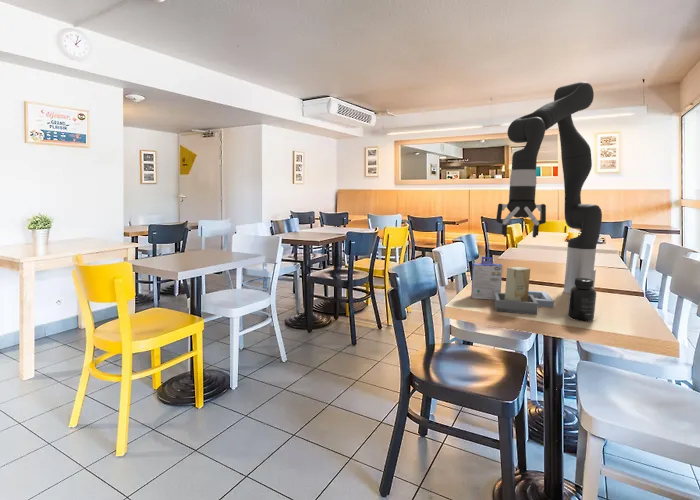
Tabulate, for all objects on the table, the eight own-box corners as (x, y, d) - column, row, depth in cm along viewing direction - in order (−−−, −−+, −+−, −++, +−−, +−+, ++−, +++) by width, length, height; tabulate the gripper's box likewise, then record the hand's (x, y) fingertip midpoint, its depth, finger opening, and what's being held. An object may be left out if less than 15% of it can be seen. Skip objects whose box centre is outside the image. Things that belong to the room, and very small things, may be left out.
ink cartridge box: (498, 296, 148) (501, 257, 146) (501, 300, 142) (503, 259, 140) (470, 295, 150) (472, 255, 148) (471, 298, 144) (473, 258, 142)
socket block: (546, 297, 148) (546, 291, 148) (553, 307, 134) (554, 301, 134) (507, 294, 151) (507, 289, 151) (511, 304, 138) (511, 298, 138)
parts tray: (531, 305, 137) (532, 295, 136) (537, 314, 126) (538, 303, 126) (493, 302, 140) (494, 292, 140) (495, 311, 130) (496, 300, 129)
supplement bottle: (562, 315, 126) (566, 276, 124) (584, 314, 127) (587, 276, 125) (577, 322, 119) (580, 281, 118) (599, 321, 120) (603, 281, 118)
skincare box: (514, 308, 130) (517, 269, 128) (503, 304, 133) (506, 267, 132) (528, 305, 133) (531, 268, 131) (517, 302, 136) (519, 266, 135)
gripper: (545, 185, 129) (541, 236, 131) (497, 185, 133) (494, 234, 135) (550, 184, 122) (546, 239, 124) (499, 184, 126) (496, 237, 128)
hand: (519, 236), depth 130 cm, fingers open, 8 cm apart
